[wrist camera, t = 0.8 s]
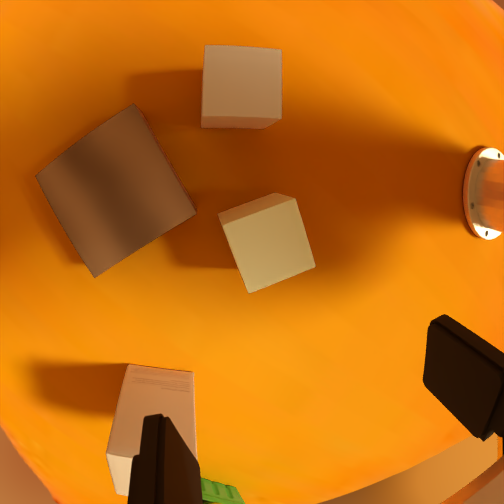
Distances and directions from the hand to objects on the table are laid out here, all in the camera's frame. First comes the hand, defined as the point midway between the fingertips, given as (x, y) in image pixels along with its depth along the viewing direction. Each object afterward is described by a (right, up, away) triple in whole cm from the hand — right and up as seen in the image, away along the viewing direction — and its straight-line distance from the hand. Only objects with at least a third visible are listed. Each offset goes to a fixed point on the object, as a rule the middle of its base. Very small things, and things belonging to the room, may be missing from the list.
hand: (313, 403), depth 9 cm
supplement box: (-12, -11, +22) cm, 27 cm away
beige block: (-2, +7, +19) cm, 20 cm away
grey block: (-4, +18, +16) cm, 24 cm away
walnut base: (-14, +10, +16) cm, 24 cm away
